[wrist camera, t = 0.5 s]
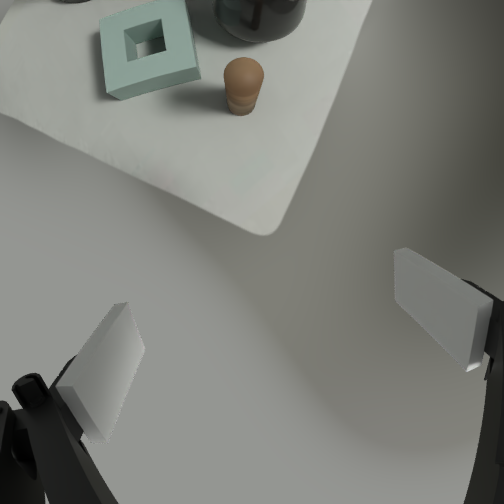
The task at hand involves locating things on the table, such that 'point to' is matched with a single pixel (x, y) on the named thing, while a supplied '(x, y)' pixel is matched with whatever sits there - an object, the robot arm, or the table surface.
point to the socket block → (153, 66)
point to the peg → (242, 85)
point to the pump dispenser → (259, 18)
